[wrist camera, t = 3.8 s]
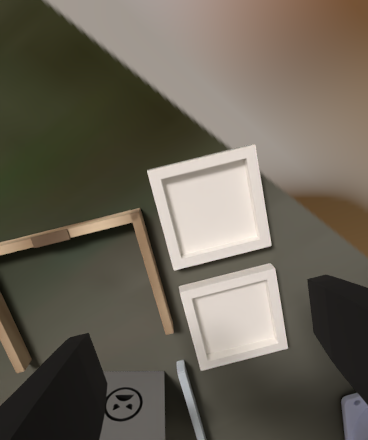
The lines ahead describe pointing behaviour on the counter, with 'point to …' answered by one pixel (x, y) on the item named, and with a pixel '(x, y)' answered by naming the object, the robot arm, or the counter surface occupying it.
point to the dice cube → (134, 406)
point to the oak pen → (3, 322)
